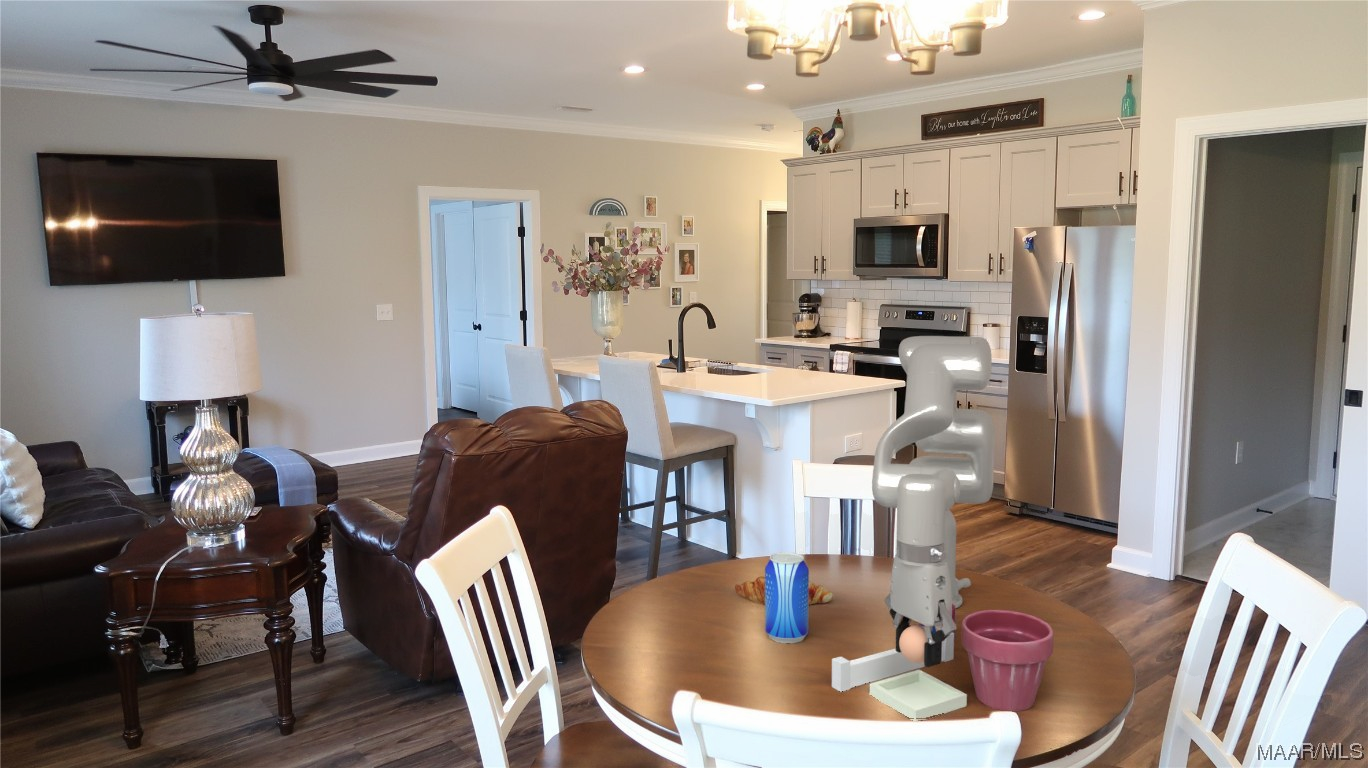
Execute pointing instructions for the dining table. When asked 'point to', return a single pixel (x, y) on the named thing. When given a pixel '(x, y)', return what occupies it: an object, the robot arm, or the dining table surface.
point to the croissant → (757, 592)
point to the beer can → (786, 597)
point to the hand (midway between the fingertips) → (918, 656)
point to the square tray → (918, 695)
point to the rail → (878, 666)
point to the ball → (913, 643)
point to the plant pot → (1006, 656)
